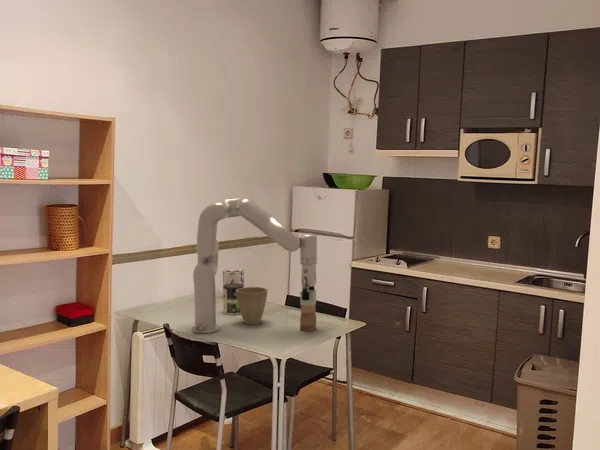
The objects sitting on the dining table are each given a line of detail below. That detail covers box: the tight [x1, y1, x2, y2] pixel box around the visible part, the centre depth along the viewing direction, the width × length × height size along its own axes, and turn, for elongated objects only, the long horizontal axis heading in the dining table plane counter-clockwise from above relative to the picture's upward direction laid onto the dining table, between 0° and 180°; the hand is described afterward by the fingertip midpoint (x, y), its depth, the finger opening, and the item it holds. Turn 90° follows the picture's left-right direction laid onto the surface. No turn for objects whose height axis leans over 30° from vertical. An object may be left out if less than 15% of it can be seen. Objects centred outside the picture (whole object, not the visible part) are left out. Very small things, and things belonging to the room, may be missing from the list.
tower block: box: [300, 303, 317, 319], centre depth 272 cm, size 6×6×6 cm
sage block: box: [299, 289, 317, 306], centre depth 272 cm, size 6×6×6 cm
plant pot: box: [236, 286, 268, 325], centre depth 284 cm, size 15×15×16 cm
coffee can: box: [222, 284, 243, 316], centre depth 304 cm, size 10×10×14 cm
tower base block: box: [299, 315, 317, 333], centre depth 273 cm, size 6×6×6 cm
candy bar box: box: [222, 268, 245, 300], centre depth 336 cm, size 11×5×16 cm, turn 81°
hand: (308, 297), depth 272 cm, fingers open, 9 cm apart
